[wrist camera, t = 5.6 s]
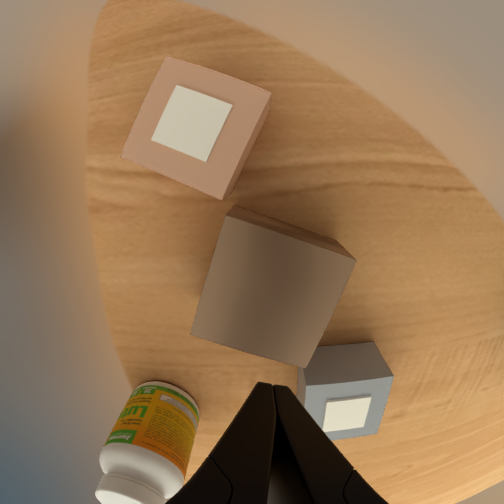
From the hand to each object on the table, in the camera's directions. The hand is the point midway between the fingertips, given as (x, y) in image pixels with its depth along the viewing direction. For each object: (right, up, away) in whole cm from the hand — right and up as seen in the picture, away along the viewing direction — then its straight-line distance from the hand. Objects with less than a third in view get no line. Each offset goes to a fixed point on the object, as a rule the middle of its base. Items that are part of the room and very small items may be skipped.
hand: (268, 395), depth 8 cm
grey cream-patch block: (+5, -4, +11) cm, 13 cm away
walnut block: (+1, +3, +10) cm, 10 cm away
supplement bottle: (-7, -8, +13) cm, 16 cm away
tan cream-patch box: (-3, +10, +8) cm, 13 cm away
